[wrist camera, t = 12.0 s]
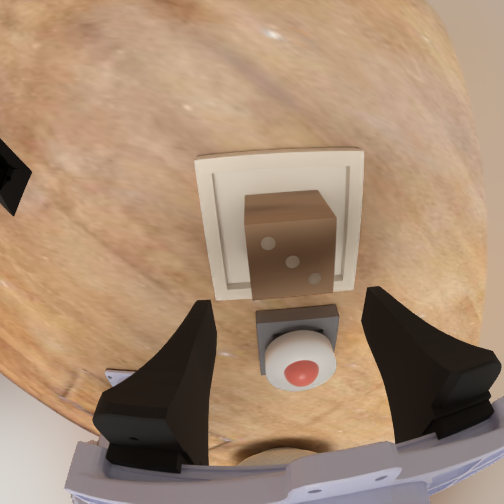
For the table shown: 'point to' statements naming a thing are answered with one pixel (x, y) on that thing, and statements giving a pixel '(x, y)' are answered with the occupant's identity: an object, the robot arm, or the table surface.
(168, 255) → the table surface
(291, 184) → the die pad
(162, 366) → the robot arm
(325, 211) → the die
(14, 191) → the black tapered mount
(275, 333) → the grey button base
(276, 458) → the cereal bowl
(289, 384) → the dome
